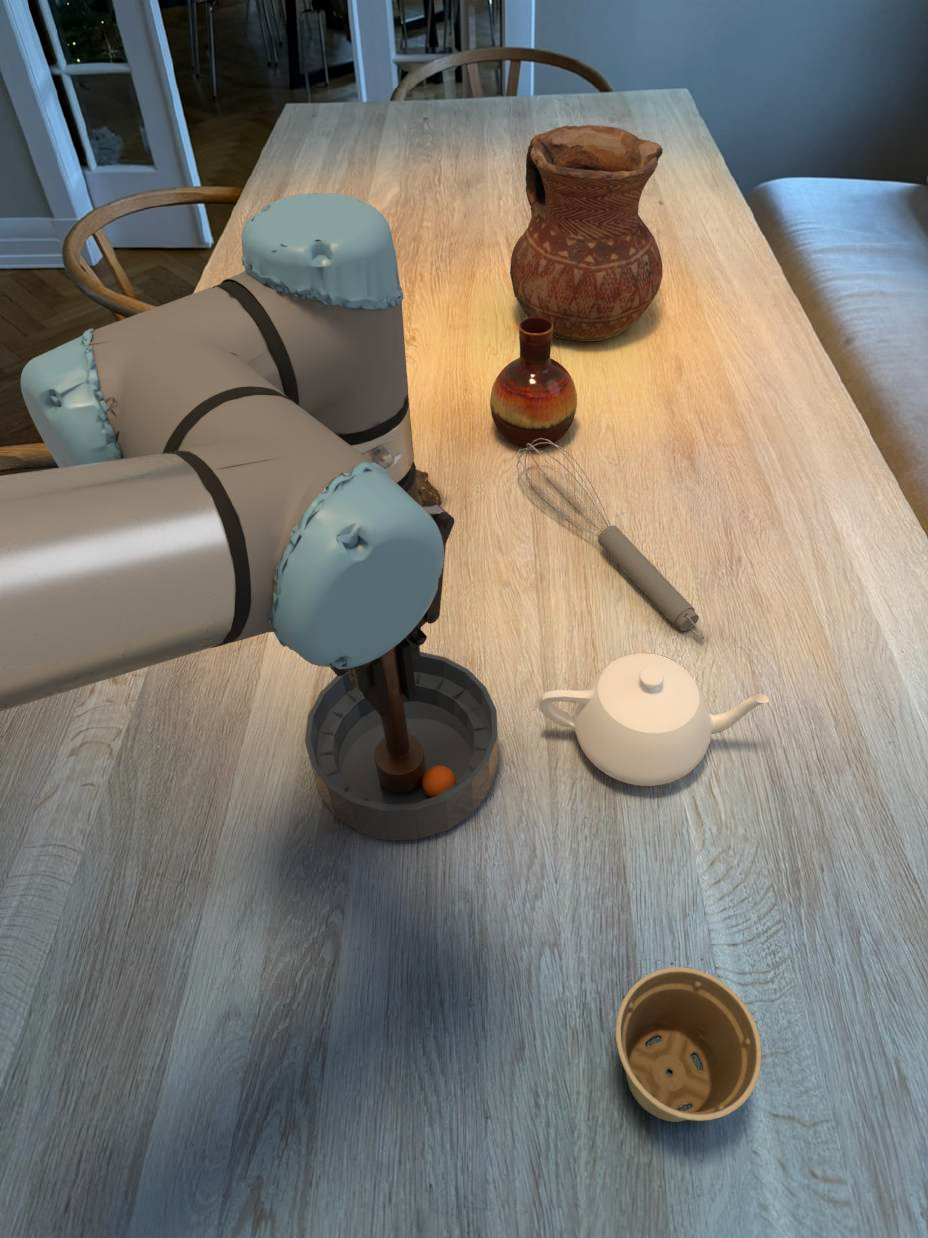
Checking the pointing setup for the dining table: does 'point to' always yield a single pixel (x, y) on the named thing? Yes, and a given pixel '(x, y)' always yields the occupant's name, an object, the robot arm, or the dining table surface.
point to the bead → (437, 780)
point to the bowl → (438, 717)
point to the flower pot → (687, 1045)
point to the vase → (533, 391)
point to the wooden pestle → (397, 737)
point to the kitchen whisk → (627, 556)
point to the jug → (587, 232)
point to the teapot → (643, 719)
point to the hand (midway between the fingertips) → (390, 695)
